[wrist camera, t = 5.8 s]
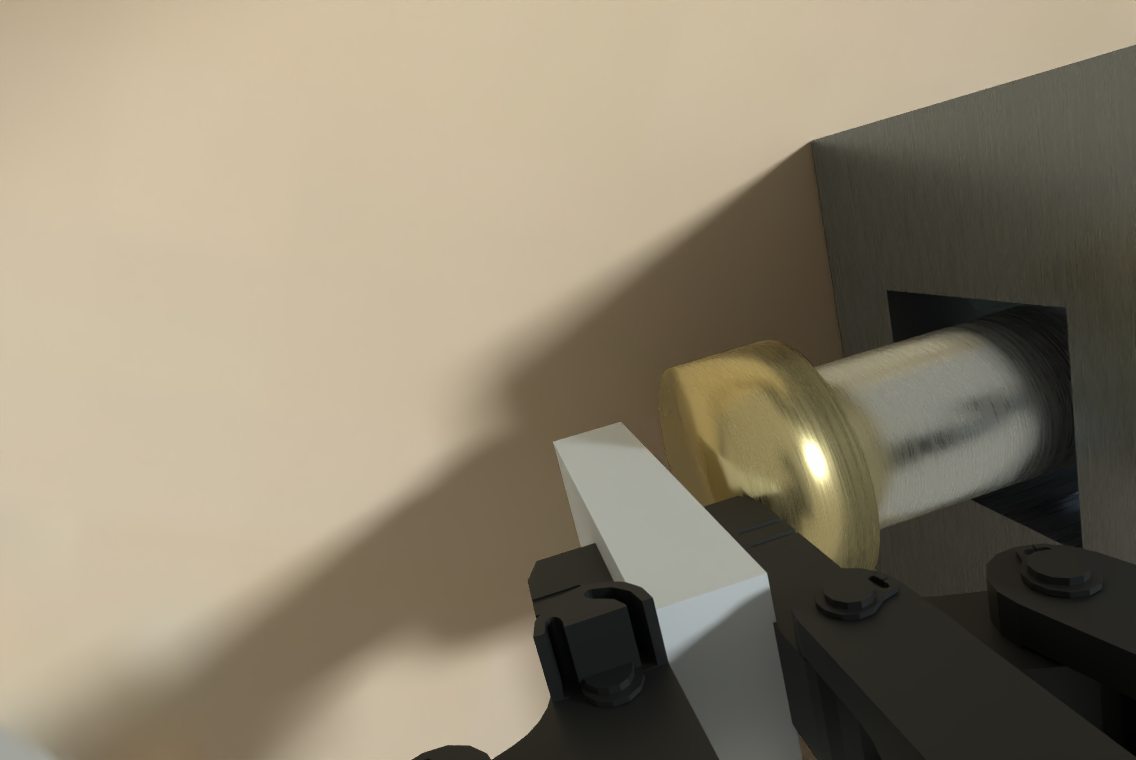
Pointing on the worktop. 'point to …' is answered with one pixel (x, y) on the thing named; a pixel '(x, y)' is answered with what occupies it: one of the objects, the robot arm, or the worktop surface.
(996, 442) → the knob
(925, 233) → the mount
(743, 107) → the worktop surface
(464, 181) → the worktop surface
